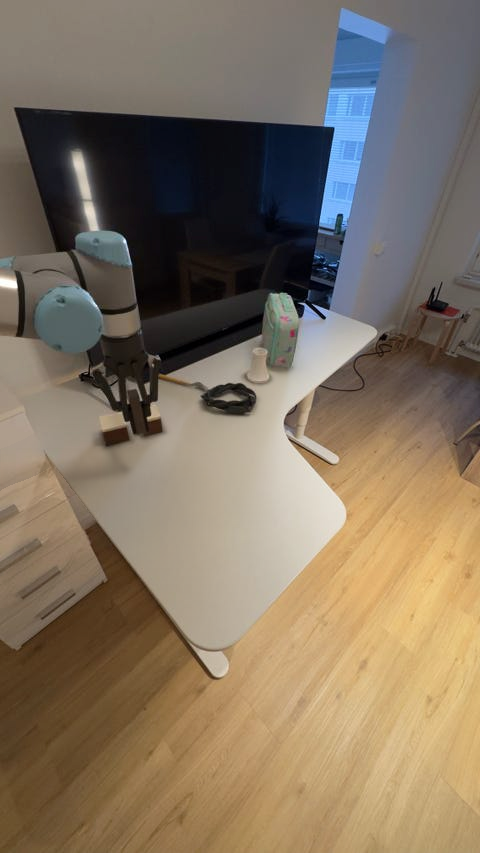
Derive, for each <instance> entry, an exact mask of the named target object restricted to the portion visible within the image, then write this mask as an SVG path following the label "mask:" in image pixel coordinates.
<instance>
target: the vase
mask: <svg viewBox="0 0 480 853" xmlns="http://www.w3.org/2000/svg"><path fill="white" fill-rule="evenodd" d="M266 356H267V350H266V349H264V348H263V347H256V348H254V349H252V363H251V366H250V369H249V371H248V372H247V374H246V377H247V380H248V381H249V382H251V383H254V384H265V383H267V382H268V381H269V380H270V374H269V372H268V370H267V361H266Z"/></svg>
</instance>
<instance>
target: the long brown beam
mask: <svg viewBox="0 0 480 853" xmlns="http://www.w3.org/2000/svg"><path fill="white" fill-rule="evenodd" d="M126 393H127V403H128V404H129V403H130V406H131V409H132V413H133V418H134V423H135V427H136V432H137V434H136V435H137V436H139V435H144V433H146V429H145V424H144V418H143V413H142V408H141V403H140V401H141V398H140V397H141V396H140V393H139V391H138V389H137V388H133V389H131V388H130V384H129V382H128V380H127V379H126Z"/></svg>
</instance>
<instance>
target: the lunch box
mask: <svg viewBox="0 0 480 853" xmlns="http://www.w3.org/2000/svg"><path fill="white" fill-rule="evenodd" d="M263 312H264V313H263V318H262V323H261V324H260V334H261V346H262V348H264V349H266V350H267V356H266V365H267V366H269V367H273V366H274V367H282V368H283V367H284V368H291V367H292V366H293V363H294V359H295V354H296V349H297V343H298V337H299V329H300V317H299V315H298V311H297V309H296V307H295V304H294V301H293V299H292V296H291V295H289V294H288V293H287V292H280V293H273V292H270V293H269V294H268V295H267V298H266V302H265V304H264V311H263Z"/></svg>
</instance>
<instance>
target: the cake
mask: <svg viewBox="0 0 480 853" xmlns="http://www.w3.org/2000/svg"><path fill="white" fill-rule="evenodd" d="M98 421H99V425H100V429H101V433H102V435H103V439H104V443H105V446H106V447H108V446H112V445H116V444H120V443H124V442H128V441H130V440H131V439H130V435H129V431H128V430H129V429H128V426H127V422H125V421H124V418H123V414H122V411H118V412H113V413H109V414H104V415H100V416H98Z"/></svg>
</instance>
